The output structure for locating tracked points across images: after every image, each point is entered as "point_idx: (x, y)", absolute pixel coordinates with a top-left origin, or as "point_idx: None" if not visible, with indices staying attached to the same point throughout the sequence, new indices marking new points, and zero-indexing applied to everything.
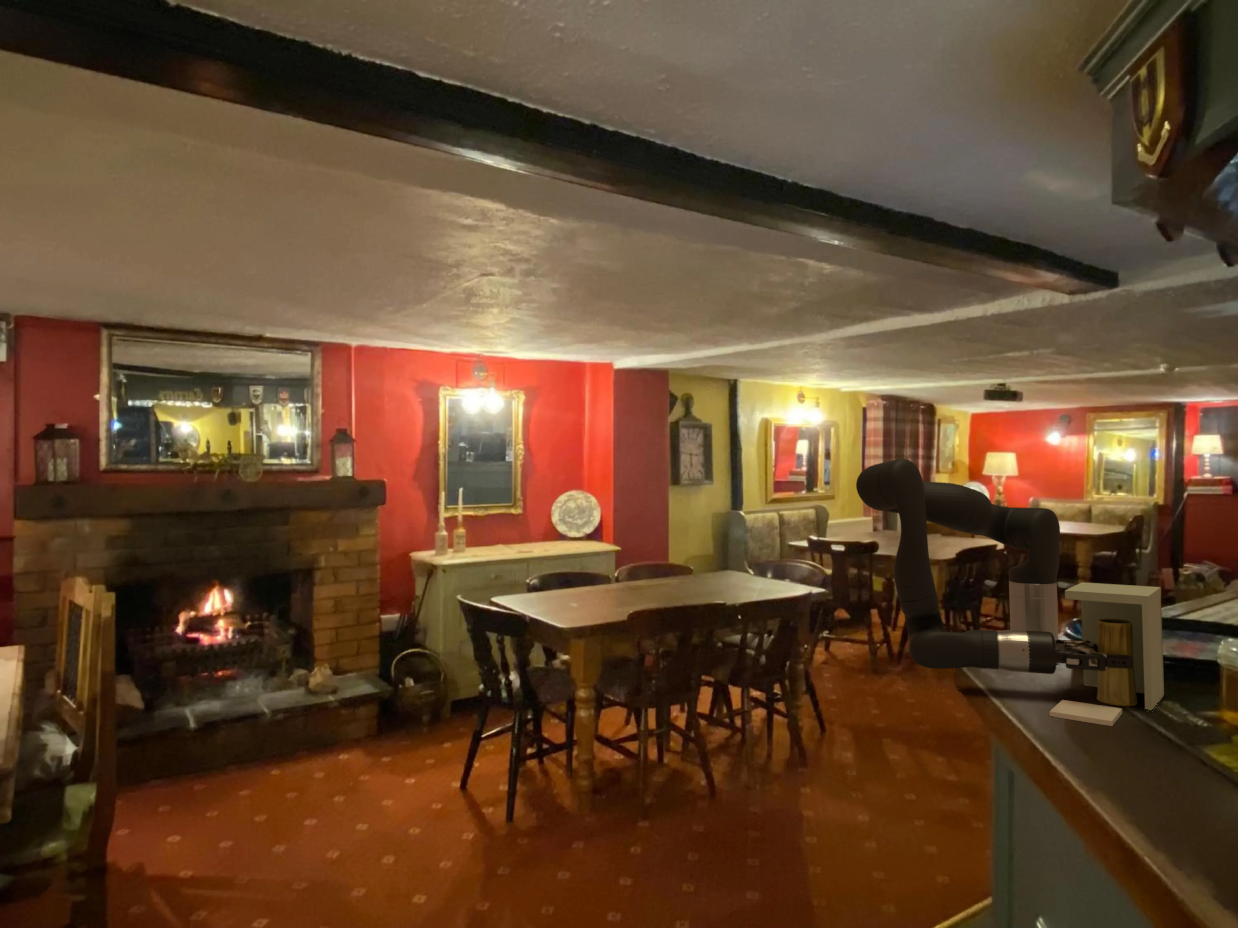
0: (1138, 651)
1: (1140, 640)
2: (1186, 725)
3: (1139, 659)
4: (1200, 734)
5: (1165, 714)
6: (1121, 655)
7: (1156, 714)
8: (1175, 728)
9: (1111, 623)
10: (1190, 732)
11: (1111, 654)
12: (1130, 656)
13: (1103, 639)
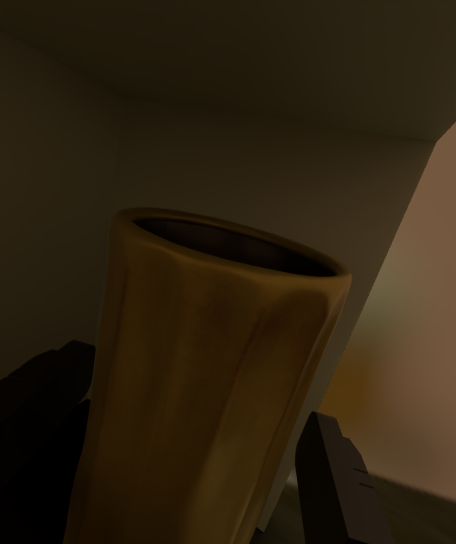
0: (55, 309)
1: (66, 269)
2: (373, 489)
3: (56, 333)
4: (439, 500)
5: (284, 485)
6: (348, 457)
7: (294, 514)
8: (430, 541)
9: (351, 279)
10: (440, 517)
11: (355, 511)
12: (334, 421)
13: (261, 433)
